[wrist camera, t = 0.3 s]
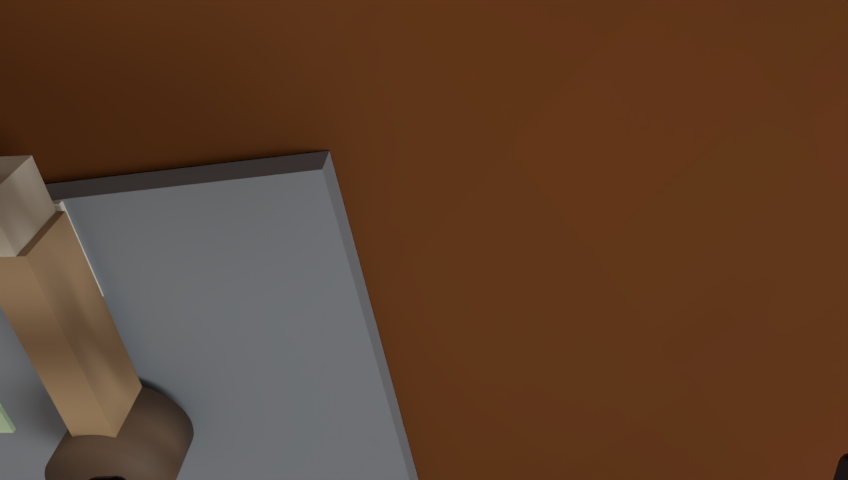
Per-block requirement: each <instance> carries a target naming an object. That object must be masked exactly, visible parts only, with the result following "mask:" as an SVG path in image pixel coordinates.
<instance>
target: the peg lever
mask: <svg viewBox="0 0 848 480" xmlns="http://www.w3.org/2000/svg"><path fill="white" fill-rule="evenodd" d="M0 306H1V308H2V310H3V311H4V313H5V315H6V317H7V319H8V320H9V322H10V324H11V326H12V328H13V330H14V331H15V333H16V335H17V337H18V339H19V341H20V342H21V344H22V346H23V348H24V350H25V351H26V353H27V355H28V357H29V359H30V361H31V362H32V364H33V366H34V368H35V370H36V372H37V373H38V375H39V377H40V379H41V381H42V382H43V384H44V386H45V388H46V390H47V392H48V393H49V395H50V397H51V399H52V401H53V403H54V404H55V406H56V408H57V410H58V412H59V413H60V415H61V417H62V419H63V421H64V423H65V424H66V426H67V428H68V429H67V431H66V433H65V434H64V436H63V438H62V439H61V441H60V443H59V444H58V446H57V448H56V449H55V451H54V453H53V454H52V456H51V458H50V460H49V461H48V463H47V465H46V467H45V480H89V479H90V478H92V477H96V476H113V475H119V476H122V477H124V478H125V479H126V480H176V479H177V477H178V474H179V472H180V469H181V467H182V464H183V462H184V460H185V457H186V455H187V452H188V450H189V447H190V445H191V443H192V440H193V436H194V429H193V425H192V422H191V420H190V418H189V417H188V415H187V414H186V412H185V411H184V410H183V409H182V408H181V407H180V406H179V405H178V404H177V403H175V402H174V401H172V400H171V399H169V398H168V397H166V396H164V395H162V394H160V393H158V392H156V391H154V390H151V389H148V388H145V387H142V385H141V383H140V381H139V378H138V376H137V374H136V372H135V369H134V367H133V365H132V362H131V360H130V358H129V356H128V353H127V351H126V349H125V346H124V344H123V342H122V339H121V337H120V335H119V333H118V330H117V328H116V326H115V323H114V321H113V319H112V317H111V314H110V312H109V310H108V307H107V305H106V303H105V300H104V298H103V296H102V294H101V291H100V289H99V287H98V284H97V282H96V280H95V278H94V275H93V273H92V271H91V268H90V266H89V264H88V261H87V259H86V257H85V255H84V252H83V250H82V248H81V245H80V243H79V241H78V239H77V236H76V234H75V232H74V229H73V227H72V225H71V222H70V220H69V218H68V216H67V213H66V211H56V209H55V207H54V204H53V202H52V200H51V198H50V195H49V193H48V191H47V189H46V186H45V184H44V182H43V180H42V177H41V175H40V173H39V171H38V168H37V166H36V164H35V162H34V159H33V157H32V155H27V156H1V157H0Z"/></svg>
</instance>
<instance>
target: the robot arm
mask: <svg viewBox="0 0 848 480" xmlns="http://www.w3.org/2000/svg"><path fill="white" fill-rule="evenodd" d="M89 480H126V479H125V478H124V477H122V476H119V475H113V476H96V477H92V478H90V479H89ZM833 480H848V453H847V454H844V455H843V456H842V457H841V458H840V460H839V463H838V466H837V469H836V473H835V476H834V479H833Z"/></svg>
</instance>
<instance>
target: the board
mask: <svg viewBox="0 0 848 480" xmlns="http://www.w3.org/2000/svg"><path fill="white" fill-rule="evenodd" d="M45 186H46V189H47V191H48V193H49V195H50V198H51V200H52V202H53V204H54V207H55V209H56V211H66V213H67V216H68V218H69V220H70V222H71V225H72V227H73V229H74V232H75V234H76V236H77V239H78V241H79V243H80V245H81V248H82V250H83V252H84V255H85V257H86V259H87V261H88V264H89V266H90V268H91V271H92V273H93V275H94V278H95V280H96V282H97V284H98V287H99V289H100V291H101V294H102V296H103V298H104V300H105V303H106V305H107V307H108V310H109V312H110V314H111V317H112V319H113V321H114V323H115V326H116V328H117V330H118V333H119V335H120V337H121V339H122V342H123V344H124V346H125V349H126V351H127V353H128V356H129V358H130V360H131V362H132V365H133V367H134V369H135V372H136V374H137V376H138V378H139V381H140V383H141V385H142V387H145V388H148V389H151V390H154V391H156V392H158V393H160V394H162V395H164V396H166V397H168V398H169V399H171V400H172V401H174V402H175V403H177V404H178V405H179V406H180V407H181V408H182V409H183V410H184V411H185V412H186V414H187V415H188V417H189V418H190V420H191V422H192V425H193V429H194V436H193V440H192V443H191V445H190V447H189V450H188V452H187V455H186V457H185V460H184V462H183V464H182V467H181V469H180V472H179V474H178V477H177V479H176V480H418V477H417V473H416V470H415V466H414V462H413V458H412V455H411V451H410V447H409V444H408V440H407V436H406V433H405V429H404V425H403V421H402V418H401V414H400V410H399V407H398V403H397V399H396V396H395V392H394V388H393V384H392V381H391V377H390V373H389V370H388V366H387V362H386V359H385V355H384V351H383V347H382V344H381V340H380V336H379V333H378V329H377V325H376V322H375V318H374V314H373V310H372V307H371V303H370V299H369V296H368V292H367V288H366V285H365V281H364V277H363V273H362V270H361V266H360V262H359V259H358V255H357V251H356V248H355V244H354V240H353V237H352V233H351V229H350V225H349V222H348V218H347V214H346V211H345V207H344V203H343V200H342V196H341V192H340V188H339V185H338V181H337V177H336V174H335V170H334V166H333V163H332V159H331V155H330V151H322V152H314V153H305V154H297V155H289V156H280V157H272V158H263V159H255V160H246V161H238V162H230V163H221V164H213V165H204V166H196V167H187V168H179V169H171V170H162V171H154V172H145V173H137V174H129V175H120V176H112V177H103V178H95V179H86V180H78V181H70V182H61V183H53V184H45ZM67 429H68V428H67V426H66V424H65V423H64V421H63V419H62V417H61V415H60V413H59V412H58V410H57V408H56V406H55V404H54V403H53V401H52V399H51V397H50V395H49V393H48V392H47V390H46V388H45V386H44V384H43V382H42V381H41V379H40V377H39V375H38V373H37V372H36V370H35V368H34V366H33V364H32V362H31V361H30V359H29V357H28V355H27V353H26V351H25V350H24V348H23V346H22V344H21V342H20V341H19V339H18V337H17V335H16V333H15V331H14V330H13V328H12V326H11V324H10V322H9V320H8V319H7V317H6V315H5V313H4V311H3V310H2V308H1V306H0V480H45V467H46V465H47V463H48V461H49V460H50V458H51V456H52V454H53V453H54V451H55V449H56V448H57V446H58V444H59V443H60V441H61V439H62V438H63V436H64V434H65V433H66V431H67Z"/></svg>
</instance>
